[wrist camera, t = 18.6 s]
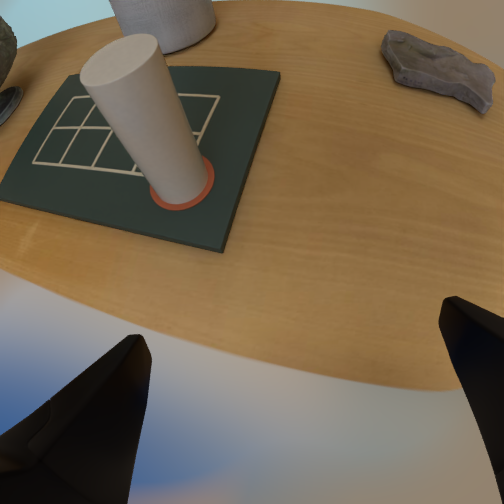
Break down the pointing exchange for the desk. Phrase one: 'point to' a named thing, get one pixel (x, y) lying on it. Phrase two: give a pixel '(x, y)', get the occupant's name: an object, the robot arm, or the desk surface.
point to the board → (126, 171)
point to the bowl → (7, 71)
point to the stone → (438, 69)
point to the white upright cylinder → (147, 115)
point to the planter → (166, 20)
